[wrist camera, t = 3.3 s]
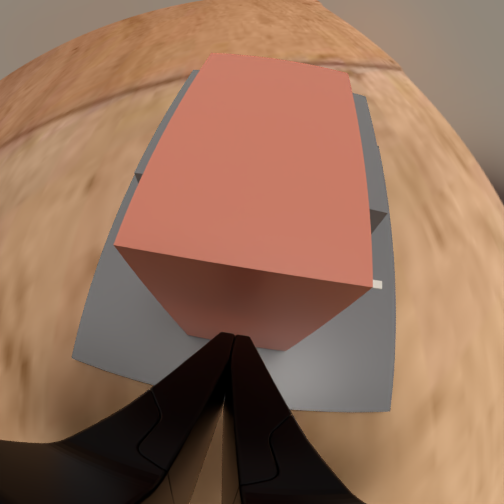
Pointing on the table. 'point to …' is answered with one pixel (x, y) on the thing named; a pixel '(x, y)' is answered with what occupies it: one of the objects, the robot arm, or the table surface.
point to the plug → (255, 203)
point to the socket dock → (277, 362)
